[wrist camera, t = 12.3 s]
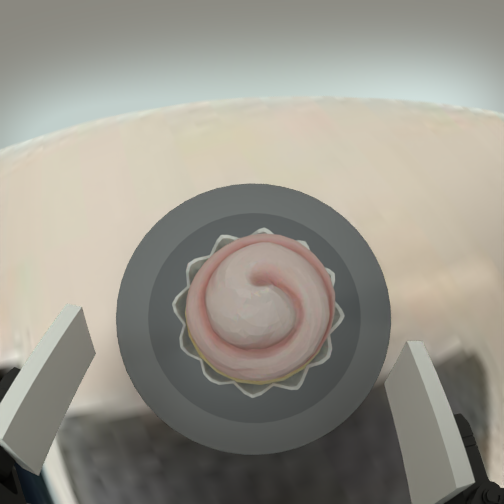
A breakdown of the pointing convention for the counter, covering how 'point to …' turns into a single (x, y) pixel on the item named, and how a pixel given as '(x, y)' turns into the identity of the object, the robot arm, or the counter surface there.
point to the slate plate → (228, 395)
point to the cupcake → (258, 312)
